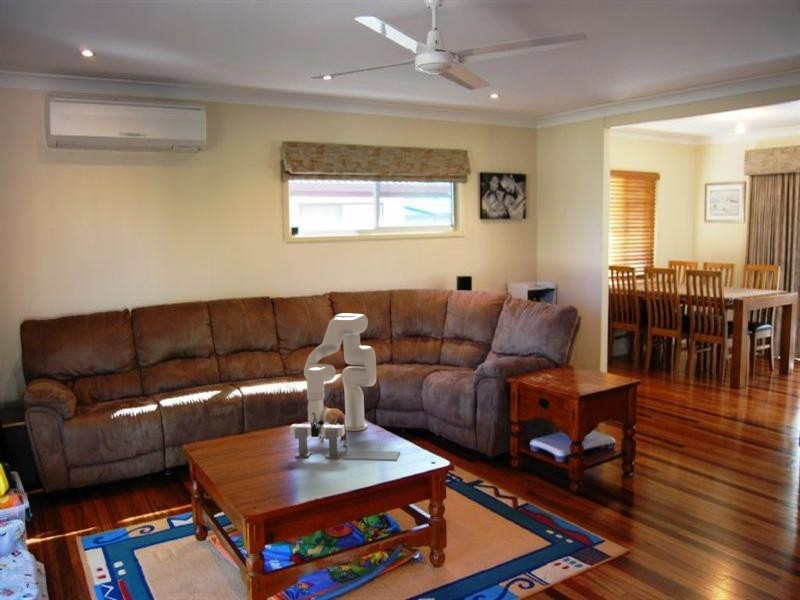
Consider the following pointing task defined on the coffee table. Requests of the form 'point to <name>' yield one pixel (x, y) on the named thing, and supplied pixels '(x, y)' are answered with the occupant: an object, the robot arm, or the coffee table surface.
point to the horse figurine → (334, 420)
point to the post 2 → (332, 444)
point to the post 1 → (302, 444)
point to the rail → (321, 429)
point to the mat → (371, 455)
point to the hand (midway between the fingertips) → (317, 433)
